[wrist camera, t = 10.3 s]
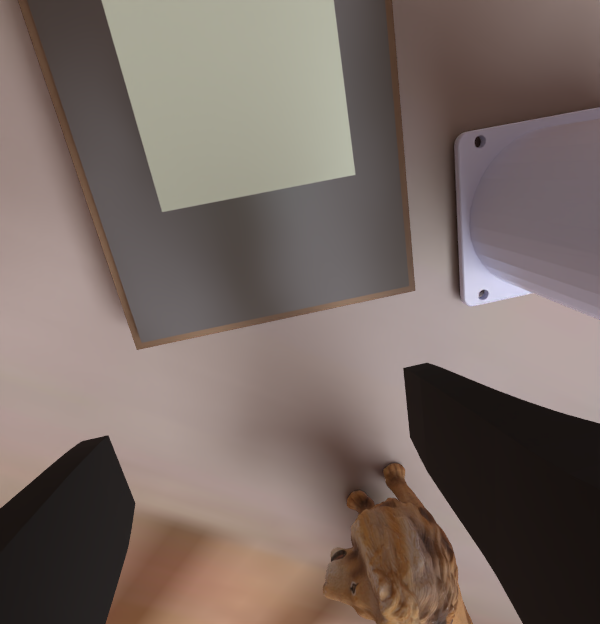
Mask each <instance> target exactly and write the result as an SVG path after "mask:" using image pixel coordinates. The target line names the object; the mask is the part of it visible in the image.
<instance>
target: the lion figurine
mask: <svg viewBox="0 0 600 624" xmlns="http://www.w3.org/2000/svg"><path fill="white" fill-rule="evenodd" d="M383 473H384V477H385V479H386V481H385V482H386V485H387V486H388V487H389V488H390V490H392V492H393V493H394V494H395V496H396V497H397V498H398V500H399V501H398V500H397V499H396V498H388V499H387V500H386V501H385V502H382V503H380V504H376V505H375V504H374V501H373V500H372V499H371V498H369V497H368V496H367V495H366V493H364V492H363V491H360V490H357V491H353V492H352V493H351V494H350V495H349V497H348V499H347V506H348V507H349V508H350V509H353V510H356V511H357V512H358V513H359V515H358V518H357V519H356V521H355V522H354V523H353V525H352V526H351V541H352V545H353V547H352V548H349V549H343V548H335V549H333V550H332V551H331V562H330V563H329V565H328V567H327V571H326V583H325V584H324V586H323V595H324V596H325V597H327V598H328V599H332V600H337V601H340V602H342V603H345V604H348V605H350V606H352V607H353V608H354V609H355V610H356V612H357V613H358V615H359V616H361V617H363V618H365V619H370V620H374V621H376V623H377V624H473V623H472V620H471V618H470V616H469V614H468V612H467V610H466V607H465V605H464V602H463V600H462V596H461V592H460V588H459V585H458V568H457V565H456V559H455V555H454V552H453V548H452V545H451V543H450V542H449V540H448V538H447V536H446V535H445V533H444V531H443V530H442V529H441V528H440V526H439V525H438V524H437V523H436V522H435V520H434V518H433V516H432V515H431V514H430V513H429V512H428V510H427V509H426V508H425V507H424V506H423V504H422V503H421V502H420V500H419V499H418V498H417V497H416V495H415V494H414V492H413V491H412V490H411V489H410V488H409V487H408V486H407V484H406V482H405V479H404V476H405V469H404V467H403V466H402V465H400V464H397V463H391V464H389V465H388V466H387V467H385V468H384V470H383Z"/></svg>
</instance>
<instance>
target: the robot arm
mask: <svg viewBox="0 0 600 624" xmlns="http://www.w3.org/2000/svg"><path fill="white" fill-rule="evenodd" d="M477 136H478V137H480V139H481V144H480V146H479V147H478V148H477V147H476V146H475V143H474V142H475V139H476V137H477ZM454 152H455V176H456V201H457V225H458V249H459V274H460V297H461V301H462V302H463V303H464V304H466V305H468V306H476V305H481V304H486V303H490V302H495V301H499V300H504V299H508V298H513V297H518V296H522V295H527V294H531V293H534V294H537V295H539V296H542V297H544V298H547V299H549V300H552V301H554V302H557V303H559V304H561V305H564V306H566V307H569V308H571V309H574V310H576V311H579V312H581V313H584V314H586V315H589V316H591V317H594V318H596V319H599V320H600V107H598V108H592V109H587V110H581V111H576V112H570V113H565V114H560V115H554V116H549V117H543V118H538V119H532V120H527V121H522V122H516V123H511V124H505V125H500V126H494V127H489V128H484V129H478V130H473V131H467V132H463V133H461V134H460V135H459V136H458V137H457V138H456V140H455V145H454ZM481 290H484V294H483V295H482V296H481V297H478V295H479V292H480V291H481ZM403 369H404V379H405V390H406V400H407V410H408V420H409V431H410V438H411V440H412V442H413V444H414V446H415V448H416V450H417V452H418V454H419V456H420V458H421V460H422V462H423V464H424V466H425V468H426V470H427V472H428V473H429V475H430V476H431V478H432V479H433V481H434V482H435V484H436V485H437V487H438V488H439V490H440V491H441V493H442V494H443V496H444V497H445V499H446V500H447V502H448V503H449V505H450V506H451V508H452V509H453V511H454V512H455V514H456V515H457V517H458V518H459V519H460V521H461V522H462V524H463V525H464V527H465V528H466V530H467V531H468V533H469V534H470V536H471V537H472V539H473V540H474V542H475V543H476V545H477V546H478V547H479V549H480V550H481V552H482V553H483V555H484V556H485V558H486V560H487V561H488V563H489V564H490V566H491V568H492V569H493V571H494V572H495V574H496V576H497V577H498V579H499V581H500V583H501V585H502V586H503V588H504V590H505V592H506V594H507V596H508V597H509V599H510V601H511V603H512V605H513V606H514V608H515V610H516V612H517V614H518V615H519V617H520V619H521V621H522V623H523V624H600V424H599V423H596V422H592V421H588V420H585V419H581V418H577V417H574V416H570V415H567V414H563V413H560V412H557V411H554V410H551V409H548V408H545V407H542V406H539V405H536V404H533V403H530V402H527V401H524V400H521V399H519V398H516V397H513V396H510V395H508V394H505V393H503V392H500V391H497V390H495V389H492V388H490V387H487V386H485V385H482V384H480V383H477V382H475V381H473V380H470V379H468V378H465V377H463V376H460V375H458V374H456V373H453V372H451V371H448V370H446V369H443V368H441V367H438V366H435V365H433V364H429V363H424V364H419V365H415V366H411V367H406V368H403ZM134 508H135V501H134V499H133V496H132V494H131V491H130V489H129V486H128V484H127V481H126V479H125V476H124V474H123V471H122V469H121V466H120V464H119V461H118V459H117V456H116V454H115V451H114V449H113V446H112V444H111V441H110V439H109V436H103V437H99V438H95V439H90V440H86V441H82V442H80V443H79V444H77V445H76V446H75V447H73V448H72V449H71V450H69V451H68V452H67V453H65V454H64V455H63V456H62V457H60V458H59V459H58V460H57V461H56V462H54V463H53V464H52V465H51V466H50V467H49V468H47V469H46V470H45V471H44V472H43V473H42V474H40V475H39V476H38V477H37V478H36V479H34V480H33V481H32V482H31V483H30V484H29V485H27V486H26V487H25V488H24V489H23V490H22V491H20V492H19V493H18V494H17V495H16V496H15V497H13V498H12V499H11V500H10V501H9V502H7V503H6V504H5V505H4V506H3V507H2V508H0V624H105V623H106V620H107V617H108V613H109V610H110V607H111V604H112V600H113V597H114V594H115V590H116V587H117V584H118V580H119V577H120V574H121V570H122V567H123V563H124V560H125V556H126V553H127V549H128V545H129V540H130V534H131V529H132V522H133V515H134Z"/></svg>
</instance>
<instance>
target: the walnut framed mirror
mask: <svg viewBox="0 0 600 624" xmlns="http://www.w3.org/2000/svg"><path fill="white" fill-rule="evenodd" d="M18 2H19V5H20V8H21V11H22V14H23V17H24V20H25V23H26V26H27V29H28V32H29V35H30V38H31V41H32V43H33V46H34V49H35V52H36V55H37V58H38V61H39V64H40V67H41V70H42V73H43V76H44V79H45V82H46V85H47V87H48V90H49V93H50V96H51V99H52V102H53V105H54V108H55V111H56V114H57V117H58V120H59V123H60V126H61V128H62V131H63V134H64V137H65V140H66V143H67V146H68V149H69V152H70V155H71V158H72V161H73V164H74V167H75V170H76V172H77V175H78V178H79V181H80V184H81V187H82V190H83V193H84V196H85V199H86V202H87V205H88V208H89V211H90V214H91V216H92V219H93V222H94V225H95V228H96V231H97V234H98V237H99V240H100V243H101V246H102V249H103V252H104V255H105V258H106V260H107V263H108V266H109V269H110V272H111V275H112V278H113V281H114V284H115V287H116V290H117V293H118V296H119V299H120V302H121V304H122V307H123V310H124V313H125V316H126V319H127V322H128V325H129V328H130V331H131V334H132V337H133V340H134V343H135V346H136V348H137V350H139V349H144V348H148V347H153V346H158V345H162V344H167V343H172V342H176V341H181V340H186V339H190V338H195V337H200V336H205V335H209V334H214V333H219V332H223V331H228V330H233V329H237V328H242V327H247V326H252V325H256V324H261V323H266V322H270V321H275V320H280V319H284V318H289V317H294V316H298V315H303V314H308V313H313V312H317V311H322V310H327V309H331V308H336V307H341V306H345V305H350V304H355V303H360V302H364V301H369V300H374V299H378V298H383V297H388V296H392V295H397V294H402V293H407V292H411V291H415V281H414V269H413V256H412V244H411V231H410V219H409V206H408V194H407V181H406V169H405V157H404V144H403V132H402V119H401V107H400V94H399V82H398V69H397V57H396V45H395V32H394V20H393V7H392V0H334V7H335V15H336V23H337V31H338V39H339V47H340V55H341V63H342V71H343V79H344V87H345V95H346V103H347V111H348V119H349V127H350V135H351V143H352V151H353V159H354V167H355V175H352V176H346V177H341V178H336V179H331V180H326V181H321V182H315V183H310V184H305V185H300V186H295V187H290V188H284V189H279V190H274V191H269V192H264V193H259V194H254V195H248V196H243V197H238V198H233V199H228V200H223V201H217V202H212V203H207V204H202V205H197V206H192V207H186V208H181V209H176V210H171V211H166V212H162V210H161V206H160V203H159V199H158V196H157V192H156V189H155V185H154V182H153V178H152V175H151V171H150V168H149V164H148V161H147V157H146V154H145V151H144V147H143V144H142V140H141V137H140V133H139V130H138V126H137V123H136V119H135V116H134V112H133V109H132V105H131V102H130V98H129V95H128V91H127V88H126V84H125V81H124V77H123V74H122V70H121V67H120V63H119V60H118V56H117V53H116V49H115V46H114V42H113V39H112V35H111V32H110V28H109V25H108V21H107V18H106V14H105V11H104V8H103V4H102V1H101V0H18Z"/></svg>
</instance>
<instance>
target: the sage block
mask: <svg viewBox="0 0 600 624" xmlns="http://www.w3.org/2000/svg"><path fill="white" fill-rule="evenodd" d="M101 1H102V4H103V8H104V11H105V14H106V18H107V21H108V25H109V28H110V32H111V35H112V39H113V42H114V46H115V49H116V53H117V56H118V60H119V63H120V67H121V70H122V74H123V77H124V81H125V84H126V88H127V91H128V95H129V98H130V102H131V105H132V109H133V112H134V116H135V119H136V123H137V126H138V130H139V133H140V137H141V140H142V144H143V147H144V151H145V154H146V157H147V161H148V164H149V168H150V171H151V175H152V178H153V182H154V185H155V189H156V192H157V196H158V199H159V203H160V206H161V210H162V212H166V211H171V210H176V209H181V208H186V207H192V206H197V205H202V204H207V203H212V202H217V201H223V200H228V199H233V198H238V197H243V196H248V195H254V194H259V193H264V192H269V191H274V190H279V189H284V188H290V187H295V186H300V185H305V184H310V183H315V182H321V181H326V180H331V179H336V178H341V177H346V176H352V175H355V167H354V159H353V151H352V143H351V135H350V127H349V119H348V111H347V103H346V95H345V87H344V79H343V71H342V63H341V55H340V47H339V39H338V31H337V23H336V15H335V7H334V0H101Z"/></svg>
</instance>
